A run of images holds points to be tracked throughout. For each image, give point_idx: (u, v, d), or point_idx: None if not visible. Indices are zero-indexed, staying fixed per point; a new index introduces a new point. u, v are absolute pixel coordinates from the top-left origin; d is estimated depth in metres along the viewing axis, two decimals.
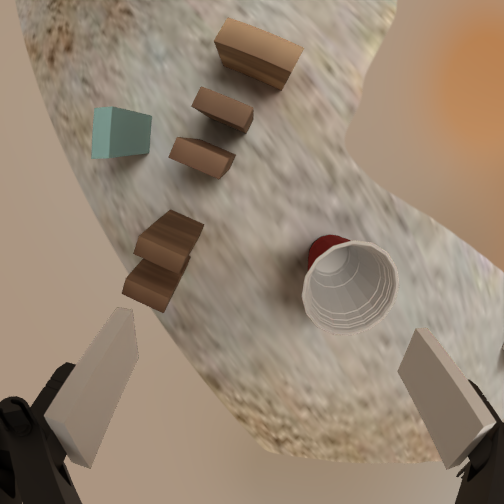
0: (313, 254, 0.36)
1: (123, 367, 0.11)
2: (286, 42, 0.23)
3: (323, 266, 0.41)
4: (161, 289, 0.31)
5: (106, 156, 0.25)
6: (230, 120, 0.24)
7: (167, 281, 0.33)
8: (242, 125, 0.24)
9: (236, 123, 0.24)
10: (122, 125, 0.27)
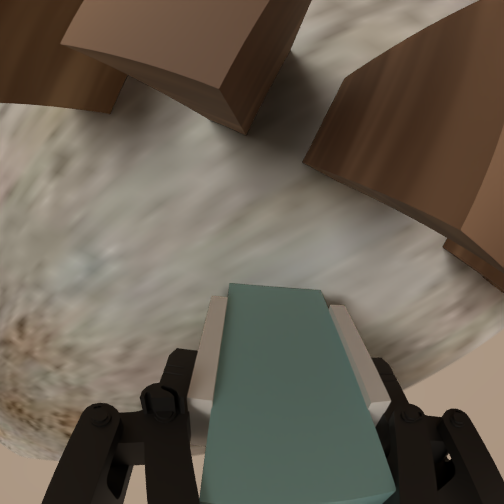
0: None
1: None
2: None
3: None
4: None
5: (386, 496, 0.05)
6: None
7: None
8: None
9: None
10: (270, 424, 0.08)
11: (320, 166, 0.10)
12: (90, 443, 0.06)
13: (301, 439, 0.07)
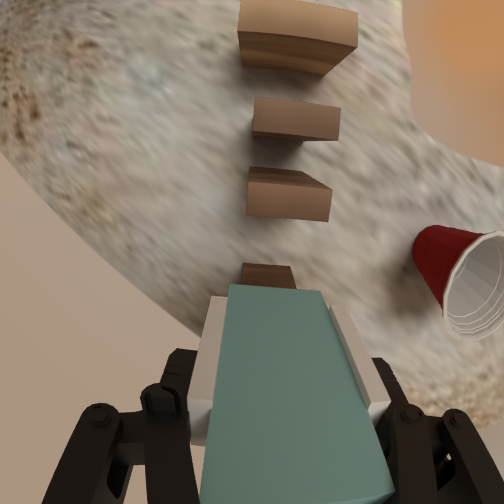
0: (428, 259, 0.26)
1: None
2: (333, 9, 0.15)
3: None
4: None
5: (385, 496, 0.05)
6: (317, 135, 0.16)
7: None
8: (335, 137, 0.16)
9: (326, 136, 0.16)
10: (269, 424, 0.08)
11: (250, 170, 0.25)
12: (90, 443, 0.06)
13: (300, 440, 0.07)
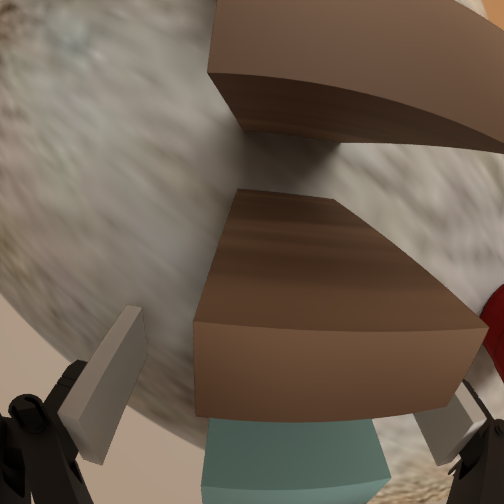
0: None
1: (133, 364, 0.11)
2: None
3: None
4: None
5: (381, 483, 0.06)
6: (488, 125, 0.03)
7: None
8: None
9: None
10: None
11: (234, 203, 0.11)
12: None
13: (299, 427, 0.08)
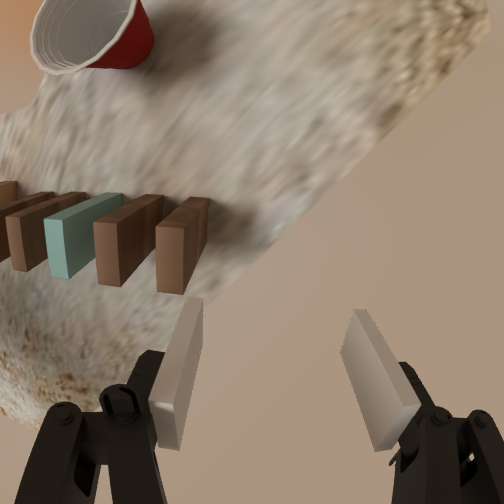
0: (102, 67, 0.22)
1: (196, 352, 0.13)
2: None
3: None
4: None
5: (46, 221, 0.20)
6: None
7: None
8: None
9: None
10: None
11: None
12: (55, 441, 0.05)
13: None
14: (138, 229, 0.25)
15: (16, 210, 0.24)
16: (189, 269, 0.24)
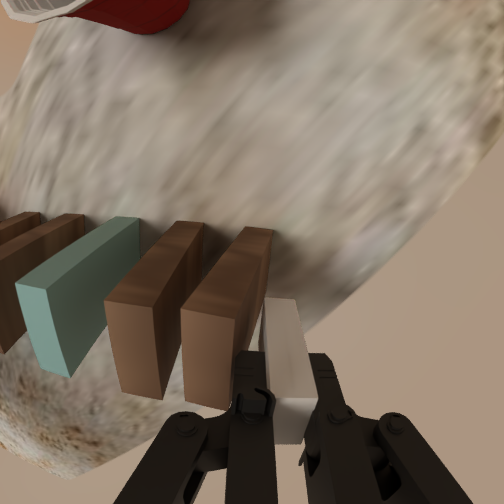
0: (114, 23, 0.12)
1: None
2: None
3: None
4: None
5: (19, 287, 0.10)
6: None
7: None
8: None
9: None
10: None
11: None
12: (173, 453, 0.06)
13: None
14: (179, 291, 0.15)
15: None
16: None
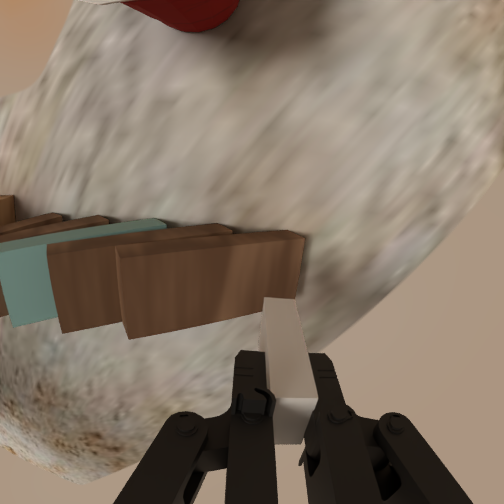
0: (171, 17, 0.12)
1: None
2: None
3: None
4: None
5: None
6: None
7: None
8: None
9: None
10: None
11: None
12: (173, 453, 0.06)
13: None
14: None
15: None
16: (166, 318, 0.17)
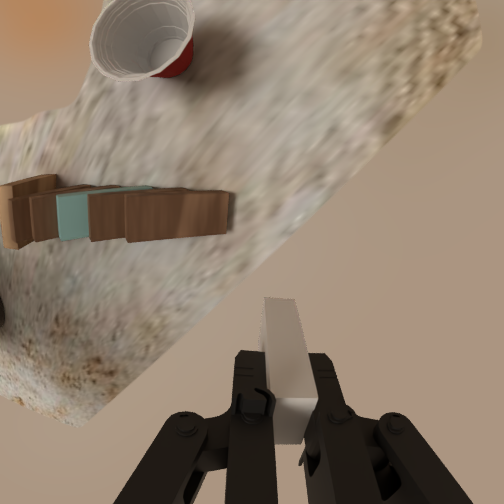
0: (152, 76, 0.27)
1: None
2: None
3: None
4: None
5: (56, 196, 0.29)
6: (12, 211, 0.26)
7: None
8: (11, 202, 0.25)
9: (12, 206, 0.26)
10: None
11: None
12: (173, 453, 0.06)
13: None
14: None
15: None
16: (148, 232, 0.32)
